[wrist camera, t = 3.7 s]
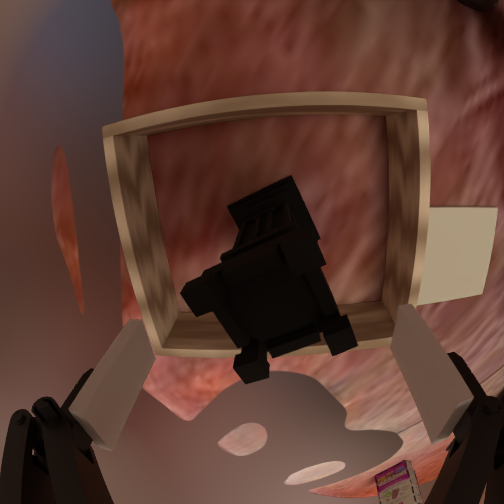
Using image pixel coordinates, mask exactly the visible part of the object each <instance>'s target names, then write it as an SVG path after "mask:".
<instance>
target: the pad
mask: <svg viewBox="0 0 504 504" xmlns="http://www.w3.org/2000/svg"><path fill="white" fill-rule="evenodd" d="M497 210H498V208H497V207H495V206H429V221H428V232H427V242H426V251H425V259H424V266H423V273H422V279H421V285H420V291H419V296H418V301H417V305H422V304H429V303H435V302H441V301H447V300H453V299H458V298H464V297H469V296H474V295H479V294H482V292H483V288H484V285H485V280H486V276H487V272H488V267H489V263H490V258H491V252H492V247H493V241H494V234H495V227H496V219H497Z"/></svg>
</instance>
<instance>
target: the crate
mask: <svg viewBox="0 0 504 504" xmlns="http://www.w3.org/2000/svg"><path fill="white" fill-rule="evenodd" d="M317 114H354V115H379V116H386V125H387V139H388V159H389V217H388V238H387V253H386V265H385V275H384V284H383V292H382V300H381V301H375V302H366V303H356V304H346V305H337V307H338V309H339V312H340V314H341V316H343V315H345V314H347V316H348V319H349V321H350V324H351V327H352V329H353V332H354V335H355V337H356V340H357V343H358V346H357V347H355V348H352V349H350V350H347V351H351V350H359V349H367V348H374V347H381V346H388V345H391V342H392V337H393V332H394V328H395V322H396V317H397V312H398V306H399V305H405V304H412V305H413V306H414V308H415V309H416V306H417V301H418V296H419V291H420V285H421V279H422V273H423V266H424V259H425V251H426V242H427V232H428V221H429V205H430V139H429V123H428V112H427V102H426V99H422V98H415V97H407V96H399V95H388V94H376V93H360V92H292V93H275V94H263V95H252V96H243V97H235V98H227V99H220V100H213V101H207V102H201V103H195V104H190V105H185V106H180V107H175V108H170V109H166V110H161V111H157V112H153V113H149V114H145V115H141V116H137V117H134V118H130V119H126V120H123V121H120V122H116V123H113V124H110V125H107V126H103V127H102V133H103V141H104V151H105V158H106V165H107V172H108V179H109V184H110V190H111V196H112V202H113V206H114V212H115V217H116V221H117V226H118V231H119V235H120V239H121V244H122V248H123V252H124V256H125V260H126V264H127V267H128V271H129V275H130V278H131V282H132V285H133V289H134V292H135V295H136V299H137V302H138V305H139V308H140V311H141V315H142V318H143V321H144V324H145V326H146V329H147V332H148V335H149V338H150V341H151V343H152V346H153V349H154V352H155V354H156V355H162V356H180V357H212V358H235V355H236V354H240V353H241V349H242V347H241V348H237V347H236V345H235V344H234V342H233V341H232V340H231V338H230V337H229V335H228V334H227V332H226V331H225V329H224V328H223V326H222V325H221V323H220V322H219V320H218V319H217V317H216V316H215V314H214V313H213V312H209V313H207V314H204V315H201V316H199V317H196V316H195V315H194V313H193V312H180V310H179V306H178V302H177V298H176V294H175V290H174V285H173V281H172V277H171V272H170V268H169V263H168V259H167V254H166V249H165V245H164V240H163V234H162V229H161V224H160V219H159V213H158V207H157V202H156V196H155V189H154V183H153V176H152V169H151V162H150V155H149V147H148V138H147V136H148V135H152V134H157V133H161V132H166V131H171V130H176V129H182V128H187V127H193V126H199V125H205V124H212V123H218V122H226V121H234V120H242V119H252V118H262V117H275V116H291V115H317ZM320 337H321V342H318V343H315V344H313V345H310V346H307V347H304V348H302V349H299V350H296V351H293V352H290V353H287V354H285V355H282V356H296V355H310V354H322V353H331V352H330V350H329V348H328V346H327V343H326V341H325V339H324V337H323V332H322V333H320ZM267 357H271V355H270V353H269V352H267Z"/></svg>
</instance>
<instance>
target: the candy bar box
mask: <svg viewBox="0 0 504 504" xmlns="http://www.w3.org/2000/svg"><path fill="white" fill-rule="evenodd" d="M375 481H376V485H377V491H378V496H379V501H380V504H422V499H421V496H420V492H419V488H418V484H417V481H416V477H415V474H414V470H413V467H412V463H411V462H410V461H406V460H404V461H402V462H400V463H399V464H397V465H395V466H393V467H391V468H389V469H387V470H385V471H383V472H381V473H379V474H377V475H375Z"/></svg>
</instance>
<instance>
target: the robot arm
mask: <svg viewBox="0 0 504 504" xmlns="http://www.w3.org/2000/svg"><path fill="white" fill-rule="evenodd" d="M458 1H460V2H461V3H463V4H465V5H466V6H468V7H470V8H473V9H475V10H479V11H486V10H489V9H491V8H493V7H495V6H496V5H497V4H498V2H499V0H458ZM390 348H391V350H392V353H393V355H394V357H395V359H396V361H397V363H398V365H399V367H400V369H401V372H402V374H403V376H404V378H405V380H406V383H407V385H408V387H409V389H410V392H411V394H412V396H413V398H414V401H415V403H416V405H417V408H418V410H419V413H420V415H421V418H422V420H423V422H424V425H425V428H426V430H427V433H428V435H429V438H430V440H431V443H432V444H435V443H437V442H440V441H443V440H446V439H447V438H448V437H449V436H450V434H451V433H452V431H453V433H454V435H455V438H454V439H453V441H452V442H451V443H450V445H449V446H448V447H447V449H446V451H448V450H449V452H448V454H447V457H446V459H445V462H444V464H443V466H442V469H441V471H440V473H439V475H438V477H437V480H436V482H435V484H434V486H433V488H432V490H431V492H430V494H429V496H428V498H427V500H426V501H425V503H424V504H479V502H480V499H481V497H482V494H483V491H484V488H485V485H486V483H487V485H486V492H485V500H484V504H504V403H501V401H500V400H499V399H498V398H496V397H493V396H487V395H486V394H485V392H484V390H483V389H482V387H481V385H480V384H479V382H478V381H477V379H476V378H475V376H474V375H473V373H471V370H470V369H469V367H467V364H466V363H465V361H464V360H463V358H462V357H460V356H459V355H458V354H456V353H455V352H451V353H446V352H445V350H444V349H443V347H442V346H441V344H440V343H439V341H438V340H437V338H436V337H435V335H434V334H433V332H432V331H431V330H430V328H429V327H428V325H427V324H426V323H425V321H424V320H423V318H422V317H421V316H420V314H419V313H418V312H417V310H416V309H415V308H414V306H413V305H412V304H405V305H399V306H398V312H397V317H396V322H395V328H394V332H393V337H392V342H391V346H390ZM155 359H156V358H155V356H154V353H153V350H152V348H151V345H150V342H149V339H148V337H147V334H146V331H145V328H144V325H143V322H142V320H135V319H130V320H129V321H128V322H127V324H126V325H125V326H124V328H123V329H122V331H121V332H120V333H119V335H118V336H117V338H116V339H115V341H114V342H113V343H112V345H111V346H110V347H109V349H108V350H107V352H106V353H105V355H104V356H103V358H102V359H101V360H100V362H99V363H98V365H97V367H96V368H95V369H92V368H91V369H89V370H88V371H87V372H86V373H85V374H83V375H82V377H81V378H80V380H79V381H78V383H77V384H76V385H75V387H74V389H73V390H72V392H71V393H70V394H69V396H68V398H67V399H66V400H65V402H64V404H63V405H62V407H61V408H60V407H59V406H58V404H57V403H56V401H55V400H54V399H53V398H51V397H42V398H40V399H38V400H37V401H36V402H35V403H34V404H33V406H32V412H33V414H34V415H35V416H36V417H33V416H32V415H31V414H30V413H29V411H27V410H26V409H20V410H18V411H16V412H15V413H14V414H13V415H12V417H11V419H10V423H9V427H8V432H7V437H6V442H5V447H4V452H3V458H2V465H1V473H0V504H114V503H113V500H112V498H111V496H110V493H109V491H108V489H107V486H106V484H105V481H104V479H103V476H102V473H101V471H100V468H99V465H98V462H97V460H96V457H95V454H94V451H93V449H92V447H91V445H90V444H91V443H92V441H94V442H95V443H96V445H97V446H98V447H100V448H103V449H106V450H109V451H113V449H114V447H115V444H116V442H117V440H118V438H119V435H120V433H121V431H122V429H123V427H124V425H125V422H126V420H127V418H128V416H129V414H130V411H131V409H132V407H133V405H134V403H135V401H136V399H137V397H138V394H139V392H140V390H141V388H142V386H143V384H144V382H145V380H146V378H147V376H148V374H149V372H150V370H151V368H152V365H153V363H154V361H155ZM32 449H33V450H34V455H32Z"/></svg>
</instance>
